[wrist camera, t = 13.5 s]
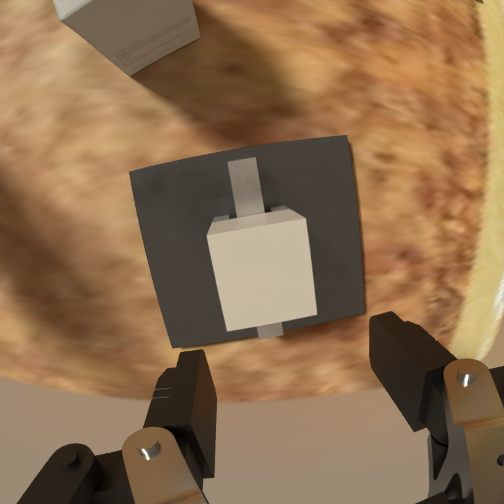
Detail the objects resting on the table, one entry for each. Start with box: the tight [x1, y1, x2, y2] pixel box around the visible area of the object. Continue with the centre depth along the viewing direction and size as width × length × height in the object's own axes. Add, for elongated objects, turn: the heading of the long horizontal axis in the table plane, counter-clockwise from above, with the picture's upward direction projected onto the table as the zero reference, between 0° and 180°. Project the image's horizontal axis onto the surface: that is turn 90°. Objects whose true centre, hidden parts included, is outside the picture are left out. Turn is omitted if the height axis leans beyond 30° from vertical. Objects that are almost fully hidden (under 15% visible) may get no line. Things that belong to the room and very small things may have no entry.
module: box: [207, 205, 317, 331], centre depth 22 cm, size 6×6×8 cm
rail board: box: [129, 135, 364, 348], centre depth 25 cm, size 16×18×4 cm
